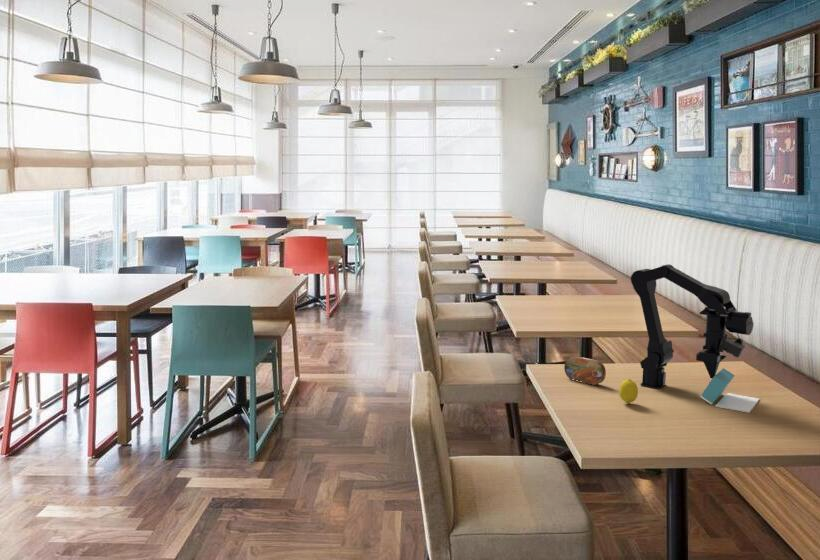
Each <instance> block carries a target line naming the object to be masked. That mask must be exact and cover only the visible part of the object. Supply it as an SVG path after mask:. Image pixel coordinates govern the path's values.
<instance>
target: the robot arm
mask: <svg viewBox="0 0 820 560" xmlns="http://www.w3.org/2000/svg"><path fill="white" fill-rule="evenodd" d="M661 279H666V280H667V281H670V282H671V283H673V284H675V285H676V286H678V287H680V288H681V289H683V290H686V291H687V292H689V293H691V294H692V295H694V296H695V297H696V298H698V300H699V301H700V302H701V303H702V304H703V305H704V306H705V307H704V308H703V309H702V310H701V311H700V312H699V315H702V316H706V319H705V332H704V333H703V337H704V345H702V349H701V350H700V351H698V352H697V353H696V354H695V360H696V361H698V362H703V365H704V366H705V368H706V370H707V373H708V376H709V378H710V379H711V380H712V379H713V377H714V376H715V375H716V374H717V373H718V369H719V366H720V363H721V362H722V361H724V359H725V358H727V356H726V355H725V354H724V355H723V353H724V352H725V353H727V354H730V355H732V356H733V357H735V358H739V357H741V356H742V354H743V352H744V350H745V349H746V346H745V344H744V339H742V338H740V337H737V338H736V339H733V338H728V337H729V335H728V333H731V334H732V333H734V334H740V335H746V336H750V335H751V333H752V332H753V330H754V321H753V317H752V313H751V312H748V311H744V312H743V311H738V309H737V308H736V306H735V305H734V303H733V302H732V301H731V297H730V293H729V292H728V291H727V290H725V289H723V288H720V287H718V286H713V285H709V284H705V283H704V282H702V281H699V280H697V279H696V278H694V277H692V276H690V275H689V274H687V273H685V272H683V271H682V270H679V269H678V268H676V267H675V266H673V265H672V264H663V265H660V266H658V267H655V268H652V269H651V268H642V269H639V270H638V269H637V270H635V271H633V273H632V274H631V275H630V283H631V285H632V288H633V290H634V291H635V293H636V294H637V296H638V297H639V299H640V303H641V308H642V313H643V317H644V318H643V319H644V322H645V327H646V332H647V336H648V343H647V347H646V352H647V355H646V357H645V358H643V359H642V360H641V361H640V362H639V363H640V367H641V369H642V381H641V383H640V386H643V387H648V388H654V389H661V388H663V387H664V386H665V385H666V382H667V381H666V377H667V372H665V367H667V365H668V363H669V362H670V361H671V360H672V359H673V356H674V353H675V351H674V349H673V342H672V340H667V339H666V338H665V336H664V331H663V327H662V323H661V322H662V321H661V318H660V314H659V313H660V312H659V309H658V305H657V300H656V289H657V281H658V280H661ZM726 330H727V331H728V333H727V332H726Z"/></svg>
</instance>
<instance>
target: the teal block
mask: <svg viewBox="0 0 820 560" xmlns="http://www.w3.org/2000/svg"><path fill="white" fill-rule="evenodd" d="M734 378H735V374H733V373H732V372H730V371H728V370H727V369H726V368H724V367H723V368H722V369H721V370H719V372H718V371H717V372H716V375H715V376H714V377H713V379H712V378H711V380H710V381H709V383H708V385H707V386H706V388H705V389H704V390H703V391H702V393H701V394H700V396H699V397H700V398H701V399H703V400H704V401H706V402H707V403H708V404H710V405H713V404H714V403H715V402H716V401H717V400H718V398H720V396H721V395H722V394H723V393H724V391H725V390H726V388H727V387H729V384H730V383H731V382H732V380H733V379H734Z"/></svg>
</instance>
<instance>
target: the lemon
mask: <svg viewBox="0 0 820 560" xmlns="http://www.w3.org/2000/svg"><path fill="white" fill-rule="evenodd" d="M638 393H639V389H638V385H637V384H636V382H635V381H633V380H631V378H628V379H626V380H624V381H622V382H621V383H620V385H619V390H618V394H619V397H620V399H621V400H622V401H623V402H625V403H626V404H627V405H629V404H631V403H633V402H634V401H636V399H637V398H638V395H639V394H638Z"/></svg>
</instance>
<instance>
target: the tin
mask: <svg viewBox="0 0 820 560" xmlns="http://www.w3.org/2000/svg"><path fill="white" fill-rule="evenodd" d="M563 368H564V369H563V370H564V373H565V375H566V377H568V379H569V380H571V379H574V380H578V381H582V382H586V383H589V384H588V385H590V384H592V385H591V386H597V385H599V384H601V383H602V382H604V380H605V379H606V375H607V370H606V367H605V365H604V364H603V363H602V362H601V361H599V360H598V359H597V360H596V359H592V358H587V357H583V356H578V355H577V356H570V357H568V359H566V361H565V363H564V366H563ZM586 383H585V384H586Z"/></svg>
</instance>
